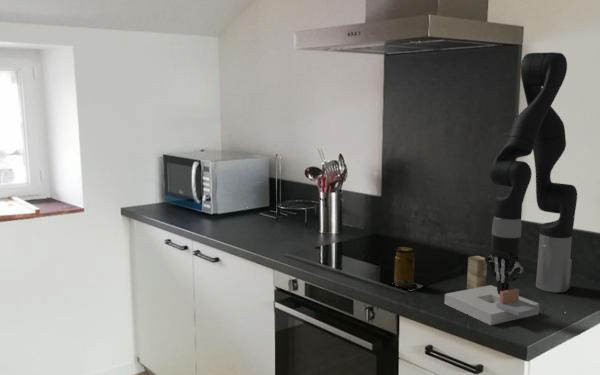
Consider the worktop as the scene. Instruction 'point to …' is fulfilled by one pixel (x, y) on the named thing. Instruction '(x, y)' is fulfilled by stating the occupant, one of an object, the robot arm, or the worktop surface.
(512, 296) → the brown block on tile
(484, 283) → the peg
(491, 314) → the socket plate
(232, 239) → the worktop surface
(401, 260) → the condiment
